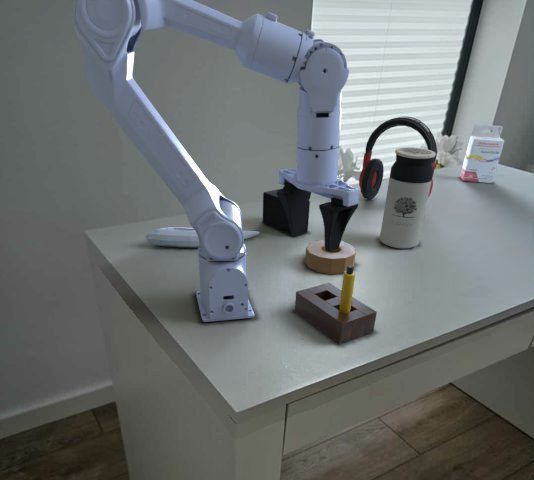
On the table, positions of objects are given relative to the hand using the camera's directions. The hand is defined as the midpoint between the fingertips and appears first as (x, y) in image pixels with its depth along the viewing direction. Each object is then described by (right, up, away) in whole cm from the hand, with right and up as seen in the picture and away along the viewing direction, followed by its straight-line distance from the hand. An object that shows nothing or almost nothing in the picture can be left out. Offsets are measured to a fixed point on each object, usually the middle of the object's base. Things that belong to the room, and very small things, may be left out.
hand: (314, 241), depth 74 cm
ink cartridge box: (+55, +34, +72) cm, 96 cm away
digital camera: (-3, +11, +34) cm, 36 cm away
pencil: (+4, -13, 0) cm, 14 cm away
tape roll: (+5, 0, +19) cm, 19 cm away
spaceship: (-20, +6, +27) cm, 34 cm away
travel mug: (+20, +6, +29) cm, 36 cm away
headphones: (+24, +21, +51) cm, 60 cm away
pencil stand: (+3, -12, +1) cm, 12 cm away
